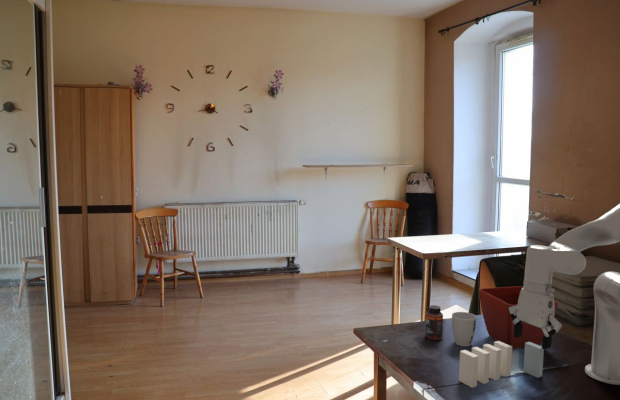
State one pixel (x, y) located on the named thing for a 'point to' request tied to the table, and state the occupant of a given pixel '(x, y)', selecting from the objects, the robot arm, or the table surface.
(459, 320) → the cup
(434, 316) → the supplement bottle
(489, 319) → the plant pot
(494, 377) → the domino
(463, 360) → the domino
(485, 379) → the domino
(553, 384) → the table surface
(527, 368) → the domino
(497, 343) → the domino
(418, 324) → the table surface
